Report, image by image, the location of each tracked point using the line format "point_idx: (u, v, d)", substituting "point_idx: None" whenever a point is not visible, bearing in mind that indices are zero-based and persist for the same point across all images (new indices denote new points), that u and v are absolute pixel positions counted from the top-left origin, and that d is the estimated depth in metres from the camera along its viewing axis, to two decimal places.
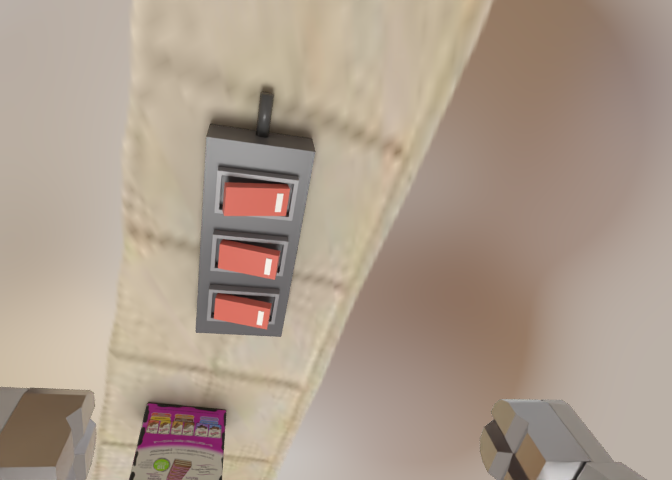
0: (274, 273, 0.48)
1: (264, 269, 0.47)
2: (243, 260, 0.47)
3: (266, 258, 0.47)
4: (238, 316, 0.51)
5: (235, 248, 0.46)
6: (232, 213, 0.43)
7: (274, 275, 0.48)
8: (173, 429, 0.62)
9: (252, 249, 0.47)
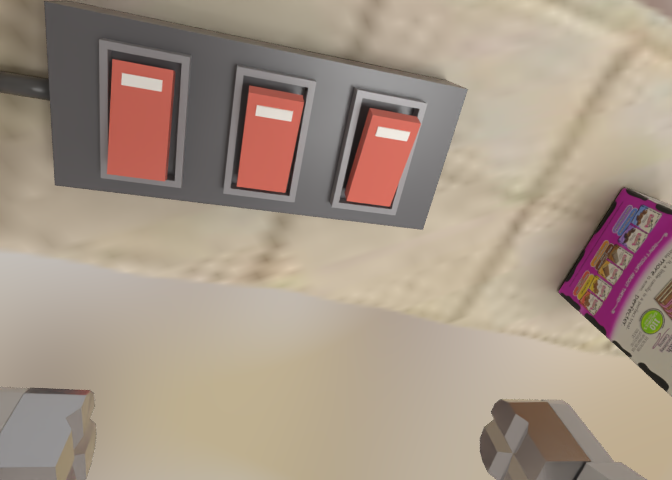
0: (289, 102, 0.25)
1: (281, 119, 0.26)
2: (265, 153, 0.27)
3: (256, 114, 0.25)
4: (385, 168, 0.29)
5: (241, 164, 0.27)
6: (160, 167, 0.26)
7: (294, 102, 0.25)
8: (608, 278, 0.38)
9: (243, 136, 0.26)
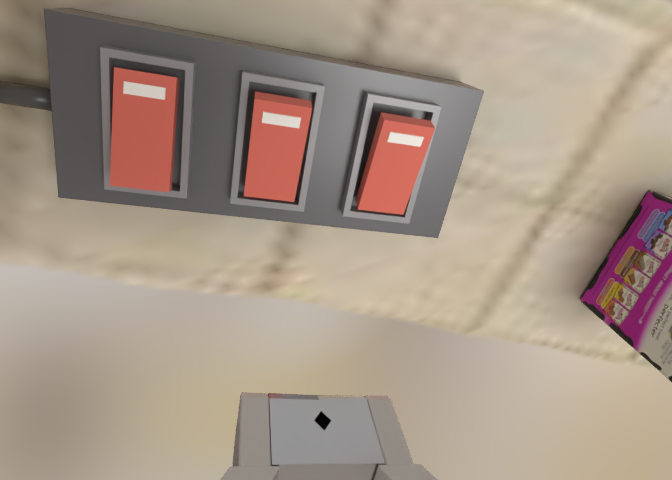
0: (296, 108, 0.24)
1: (288, 126, 0.25)
2: (272, 161, 0.26)
3: (262, 121, 0.24)
4: (398, 175, 0.28)
5: (248, 173, 0.26)
6: (164, 177, 0.25)
7: (301, 108, 0.24)
8: (634, 286, 0.37)
9: (249, 144, 0.26)
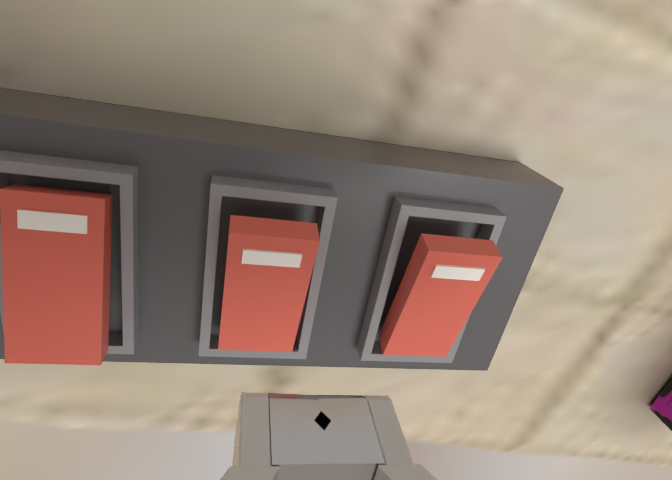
0: (295, 242, 0.16)
1: (283, 266, 0.16)
2: (260, 308, 0.17)
3: (242, 261, 0.16)
4: (443, 314, 0.19)
5: (224, 323, 0.18)
6: (92, 345, 0.16)
7: (303, 241, 0.16)
8: None
9: None
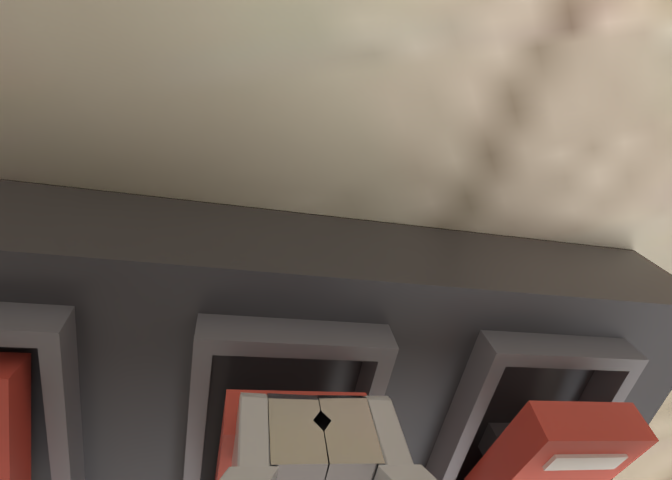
0: None
1: None
2: None
3: None
4: None
5: None
6: None
7: None
8: None
9: None
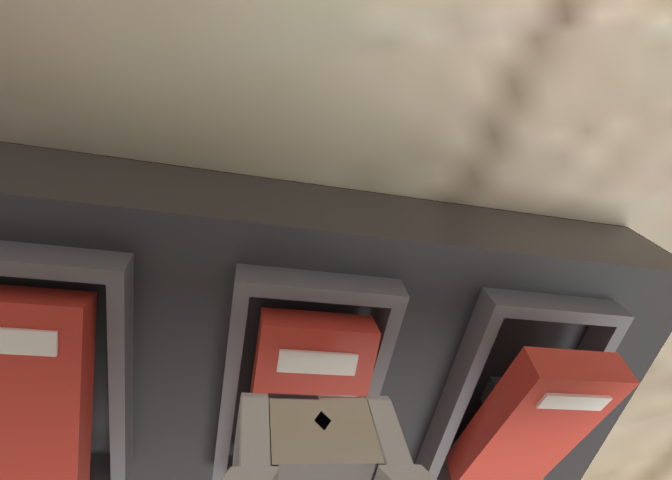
0: (350, 336, 0.12)
1: (332, 374, 0.12)
2: None
3: (278, 369, 0.11)
4: (542, 445, 0.14)
5: None
6: None
7: (360, 336, 0.12)
8: None
9: None
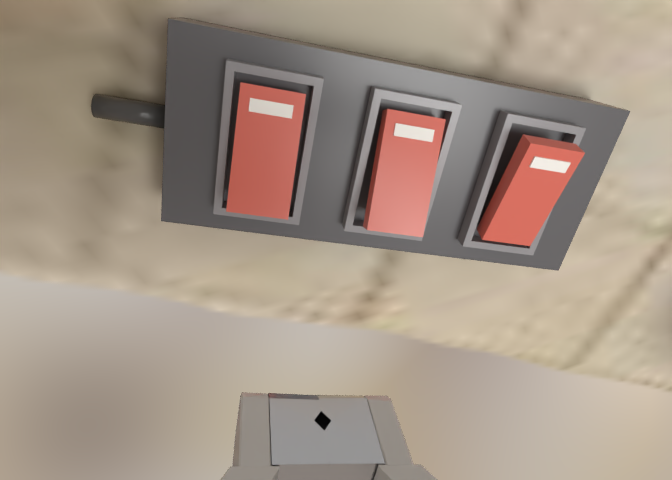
0: (430, 119, 0.23)
1: (421, 140, 0.23)
2: (402, 184, 0.23)
3: (394, 135, 0.23)
4: (534, 204, 0.25)
5: (375, 198, 0.23)
6: (284, 203, 0.23)
7: (435, 119, 0.23)
8: None
9: (377, 165, 0.23)
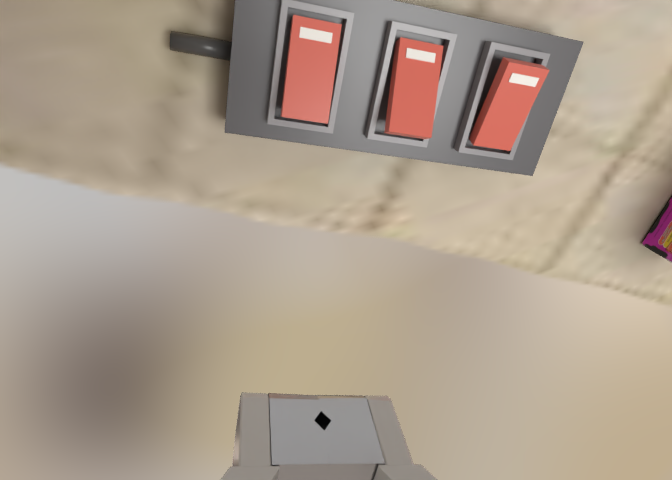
0: (432, 45, 0.30)
1: (426, 61, 0.30)
2: (413, 95, 0.30)
3: (406, 57, 0.30)
4: (512, 113, 0.32)
5: (394, 106, 0.30)
6: (325, 111, 0.30)
7: (435, 46, 0.30)
8: None
9: (394, 81, 0.30)
